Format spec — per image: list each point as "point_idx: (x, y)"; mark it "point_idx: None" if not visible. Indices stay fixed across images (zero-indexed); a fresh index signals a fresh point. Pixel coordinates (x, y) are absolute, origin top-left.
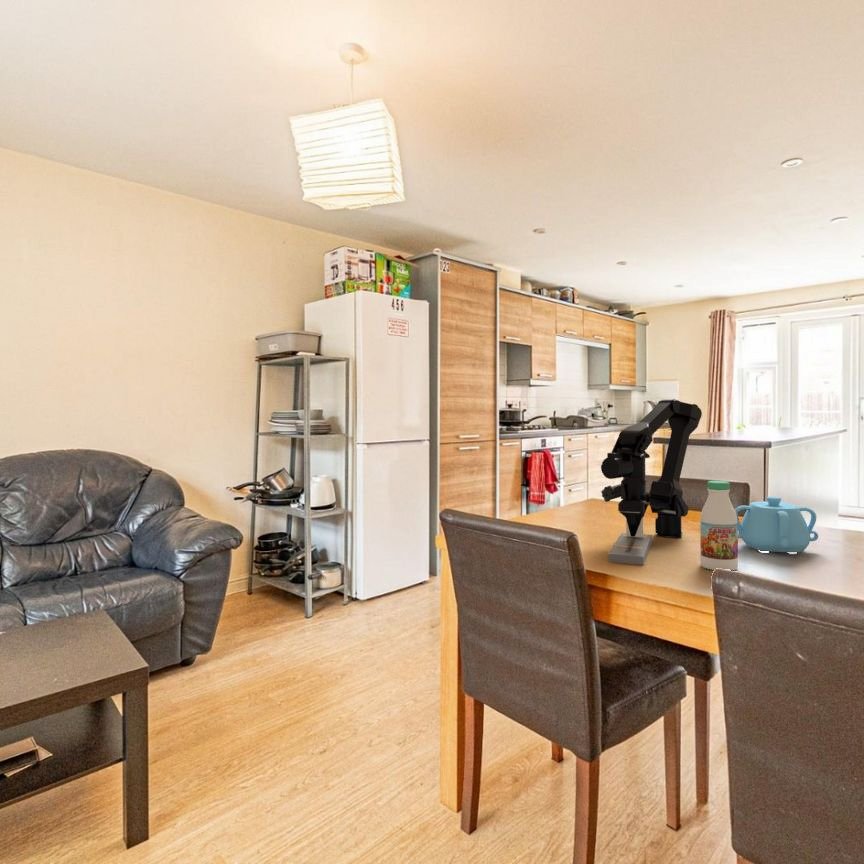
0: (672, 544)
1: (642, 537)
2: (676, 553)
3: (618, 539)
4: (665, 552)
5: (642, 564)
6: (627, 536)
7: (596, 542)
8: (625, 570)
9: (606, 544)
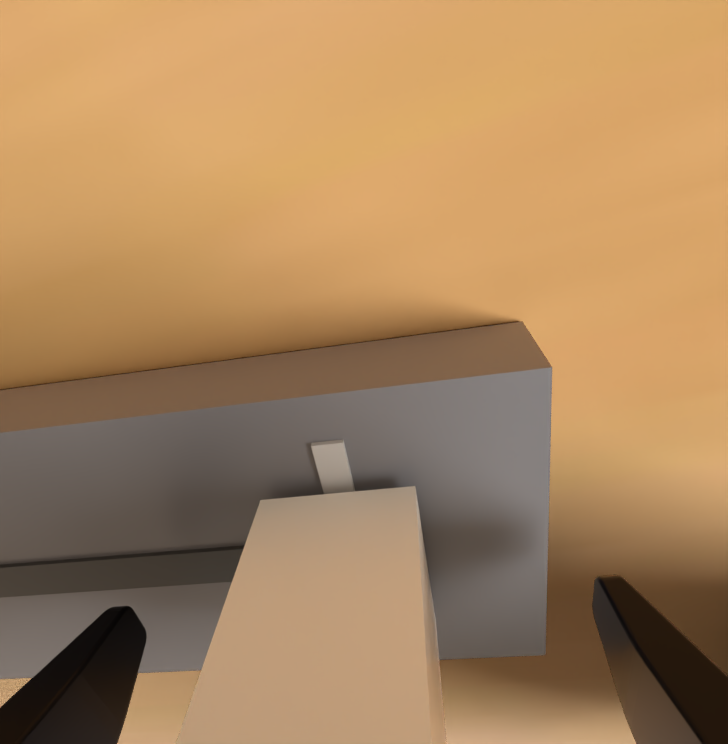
0: (500, 687)
1: None
2: None
3: (94, 434)
4: None
5: None
6: (262, 510)
7: (171, 16)
8: None
9: (159, 217)
